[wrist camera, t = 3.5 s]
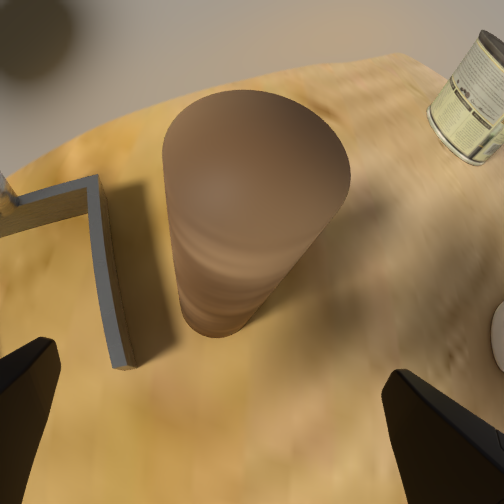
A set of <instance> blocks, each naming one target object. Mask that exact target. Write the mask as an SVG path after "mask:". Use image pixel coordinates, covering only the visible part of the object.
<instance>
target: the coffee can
mask: <svg viewBox="0 0 504 504" xmlns="http://www.w3.org/2000/svg"><path fill="white" fill-rule="evenodd" d="M427 118H428V121H429V123H430V125H431V127H432V129H433V130H434V132H435V133H436V135H437V136H438V137H439V139H440V140H441V141H442V142H443V143H444V144H445V145H446V146H447V148H449V149H450V150H451V151H452V152H453V153H454V154H455V155H456V156H458V157H459V158H460V159H462V160H463V161H465V162H467V163H469V164H471V165H475V166H480V165H482V164H484V163H485V161H486V160H487V159H488V158H489V157H490V156H491V155H492V154H493V153H494V152H495V151H496V150H497V149H498V148H499V147H500V146H501V145H502V144H503V143H504V43H503V42H502V41H501V40H500V39H498V38H497V37H496V36H494V35H493V34H491V33H489V32H487V31H485V30H481V32H480V34H479V37H478V38H477V40H476V41H475V43H474V45H473V46H472V47H471V49H470V50H469V52H468V53H467V55H466V56H465V58H464V59H463V61H462V62H461V63H460V65H459V66H458V68H457V69H456V70H455V72H454V73H453V75H452V76H451V78H450V79H449V80H448V82H447V83H446V84H445V86H444V87H443V89H442V90H441V91H440V93H439V94H438V96H437V97H436V98H435V100H434V101H433V103H432V104H431V105H430V106H429V107H428V108H427Z"/></svg>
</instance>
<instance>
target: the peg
mask: <svg viewBox="0 0 504 504" xmlns="http://www.w3.org/2000/svg"><path fill="white" fill-rule="evenodd" d="M162 159H163V171H164V182H165V193H166V202H167V212H168V220H169V229H170V237H171V245H172V252H173V260H174V267H175V274H176V281H177V287H178V294H179V300H180V306H181V311H182V314H183V317H184V319H185V321H186V322H187V323H188V325H189V326H190V327H191V328H192V329H193V330H195V331H196V332H198V333H199V334H201V335H204V336H207V337H211V338H223V337H227V336H230V335H232V334H234V333H236V332H237V331H239V330H240V329H241V328H242V327H243V326H244V325H245V323H246V322H247V321H248V320H249V319H250V318H251V316H252V315H253V314H254V313H255V312H256V311H257V309H258V308H259V307H260V306H261V305H262V303H263V302H264V301H265V300H266V299H267V298H268V296H269V295H270V294H271V293H272V292H273V290H274V289H275V288H276V287H277V286H278V284H279V283H280V282H281V281H282V280H283V278H284V277H285V276H286V275H287V274H288V272H289V271H290V270H291V269H292V267H293V266H294V265H295V264H296V263H297V261H298V260H299V259H300V258H301V256H302V255H303V254H304V253H305V252H306V250H307V249H308V248H309V247H310V245H311V244H312V243H313V242H314V240H315V239H316V238H317V237H318V235H319V234H320V233H321V232H322V230H323V229H324V228H325V227H326V225H327V224H328V223H329V222H330V220H331V219H332V218H333V217H334V215H335V214H336V213H337V211H338V210H339V209H340V207H341V206H342V204H343V203H344V201H345V199H346V197H347V194H348V191H349V187H350V179H351V173H350V165H349V160H348V157H347V154H346V151H345V149H344V147H343V145H342V143H341V141H340V140H339V138H338V137H337V135H336V134H335V132H334V131H333V130H332V129H331V128H330V127H329V125H328V124H327V123H326V122H324V121H323V120H322V119H321V118H320V117H319V116H318V115H316V114H315V113H314V112H312V111H311V110H309V109H308V108H306V107H304V106H303V105H301V104H299V103H297V102H295V101H293V100H290V99H288V98H285V97H282V96H279V95H276V94H272V93H268V92H263V91H255V90H232V91H225V92H220V93H216V94H212V95H209V96H206V97H204V98H201V99H199V100H197V101H196V102H194V103H192V104H191V105H189V106H188V107H186V108H185V109H184V110H183V111H182V112H180V113H179V114H178V116H177V117H176V118H175V119H174V120H173V122H172V123H171V125H170V127H169V128H168V130H167V133H166V135H165V138H164V143H163V150H162Z"/></svg>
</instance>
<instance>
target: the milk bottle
mask: <svg viewBox="0 0 504 504" xmlns="http://www.w3.org/2000/svg"><path fill="white" fill-rule="evenodd" d="M491 344H492V350H493V354H494V357H495V360H496V362H497V365H498V366H499V368H500V369H501V370H502V371H503V372H504V301H503V302H502V303H501V304H500V305H499V306H498V308H497V309H496V311H495V314H494V316H493V320H492V326H491Z"/></svg>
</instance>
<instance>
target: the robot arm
mask: <svg viewBox="0 0 504 504" xmlns="http://www.w3.org/2000/svg"><path fill="white" fill-rule="evenodd" d="M60 371H61V362H60V358H59V354H58V350H57V346H56V342H55V341H54V340H53V339H50V338H46V337H38V338H37V339H35V340H33V341H31V342H29V343H28V344H26V345H24V346H22V347H21V348H19V349H17V350H15V351H13V352H12V353H10V354H8V355H6V356H5V357H3V358H1V359H0V504H22V500H23V496H24V492H25V489H26V485H27V482H28V478H29V475H30V471H31V468H32V465H33V461H34V458H35V455H36V452H37V449H38V446H39V443H40V440H41V437H42V434H43V432H44V429H45V426H46V423H47V420H48V416H49V413H50V409H51V405H52V401H53V397H54V393H55V389H56V386H57V382H58V379H59V375H60ZM381 397H382V403H383V407H384V412H385V417H386V422H387V427H388V432H389V437H390V441H391V445H392V449H393V452H394V455H395V459H396V462H397V465H398V469H399V472H400V476H401V480H402V483H403V487H404V490H405V494H406V498H407V502H408V504H504V434H503V433H502V432H500V431H499V430H497V429H495V428H494V427H493V426H491V425H490V424H488V423H487V422H485V421H484V420H482V419H481V418H479V417H478V416H476V415H475V414H473V413H472V412H470V411H469V410H467V409H466V408H464V407H463V406H461V405H460V404H458V403H457V402H455V401H454V400H452V399H451V398H449V397H448V396H446V395H445V394H443V393H442V392H440V391H439V390H437V389H436V388H434V387H433V386H431V385H430V384H428V383H427V382H426V381H424V380H423V379H421V378H420V377H418V376H417V375H415V374H414V373H412V372H411V371H409V370H408V369H396V370H394V371H393V372H392V373H391V375H390V377H389V378H388V380H387V382H386V384H385V386H384V388H383V390H382V394H381Z"/></svg>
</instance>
